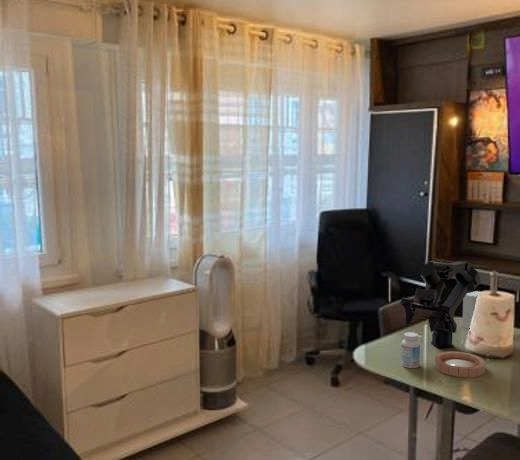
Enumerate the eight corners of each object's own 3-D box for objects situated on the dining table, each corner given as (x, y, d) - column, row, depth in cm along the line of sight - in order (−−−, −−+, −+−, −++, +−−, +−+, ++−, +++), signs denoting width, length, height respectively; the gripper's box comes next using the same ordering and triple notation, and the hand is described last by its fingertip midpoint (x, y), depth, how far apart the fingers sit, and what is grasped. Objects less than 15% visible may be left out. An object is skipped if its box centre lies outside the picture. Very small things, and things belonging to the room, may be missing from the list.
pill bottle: (417, 362, 189) (418, 331, 187) (421, 368, 183) (421, 337, 181) (400, 361, 189) (400, 331, 188) (403, 368, 183) (403, 337, 182)
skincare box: (475, 324, 229) (477, 290, 227) (487, 328, 224) (488, 293, 222) (461, 327, 226) (462, 293, 224) (472, 331, 220) (473, 296, 218)
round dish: (466, 357, 192) (467, 349, 192) (494, 374, 177) (494, 366, 177) (426, 361, 189) (426, 353, 189) (450, 379, 174) (451, 371, 173)
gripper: (402, 276, 196) (387, 311, 190) (452, 283, 184) (437, 322, 177) (412, 292, 203) (397, 327, 197) (460, 301, 191) (446, 338, 184)
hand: (418, 328), depth 188 cm, fingers open, 9 cm apart
